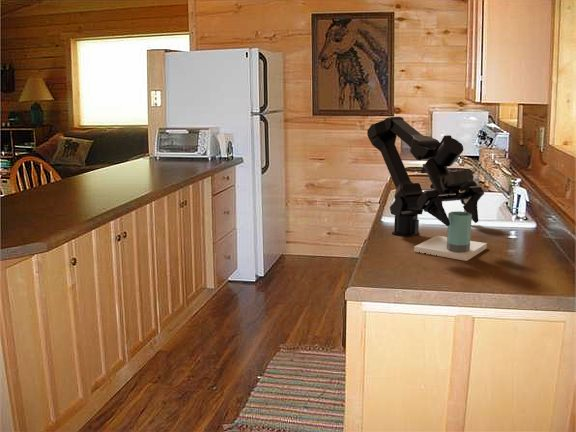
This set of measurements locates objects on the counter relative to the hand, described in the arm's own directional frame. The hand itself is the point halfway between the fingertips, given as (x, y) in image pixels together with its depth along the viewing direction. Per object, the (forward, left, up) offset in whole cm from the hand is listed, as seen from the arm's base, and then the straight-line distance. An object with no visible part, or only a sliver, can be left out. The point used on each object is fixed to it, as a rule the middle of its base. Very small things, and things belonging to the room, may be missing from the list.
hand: (463, 223), depth 164 cm
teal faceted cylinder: (-1, +1, -8) cm, 8 cm away
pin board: (-5, +4, -9) cm, 11 cm away
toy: (-13, +38, -9) cm, 41 cm away
